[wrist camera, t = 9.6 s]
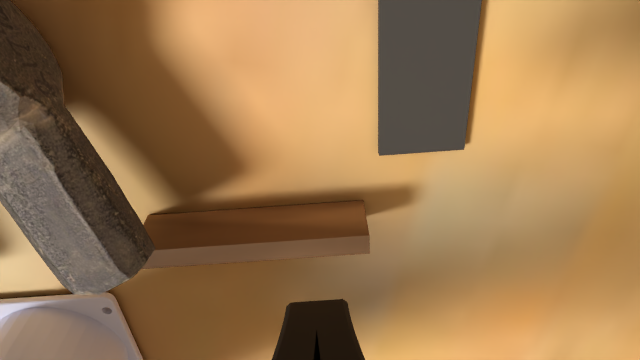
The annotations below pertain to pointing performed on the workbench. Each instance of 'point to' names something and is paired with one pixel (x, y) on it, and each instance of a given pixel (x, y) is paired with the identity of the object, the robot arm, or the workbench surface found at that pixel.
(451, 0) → the strip
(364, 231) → the brown wooden board
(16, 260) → the workbench surface
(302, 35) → the workbench surface
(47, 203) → the pipe
